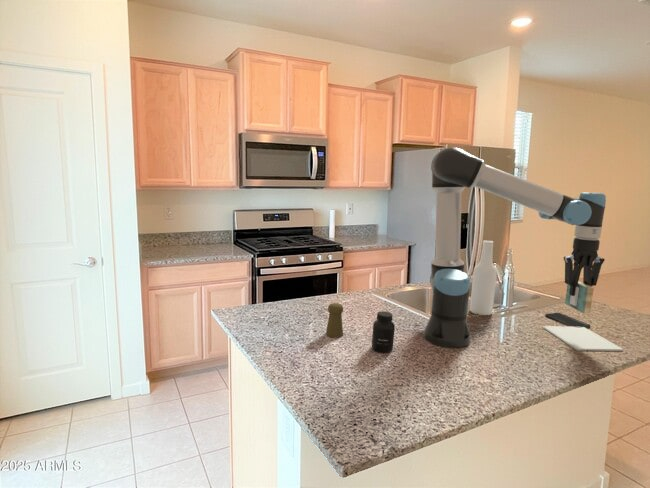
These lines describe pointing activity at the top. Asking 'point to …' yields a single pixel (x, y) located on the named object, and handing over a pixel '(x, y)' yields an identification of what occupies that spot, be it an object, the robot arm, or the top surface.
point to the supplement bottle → (383, 333)
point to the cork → (335, 321)
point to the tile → (581, 297)
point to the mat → (582, 338)
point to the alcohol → (484, 282)
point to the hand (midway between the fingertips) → (577, 304)
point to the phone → (567, 320)
